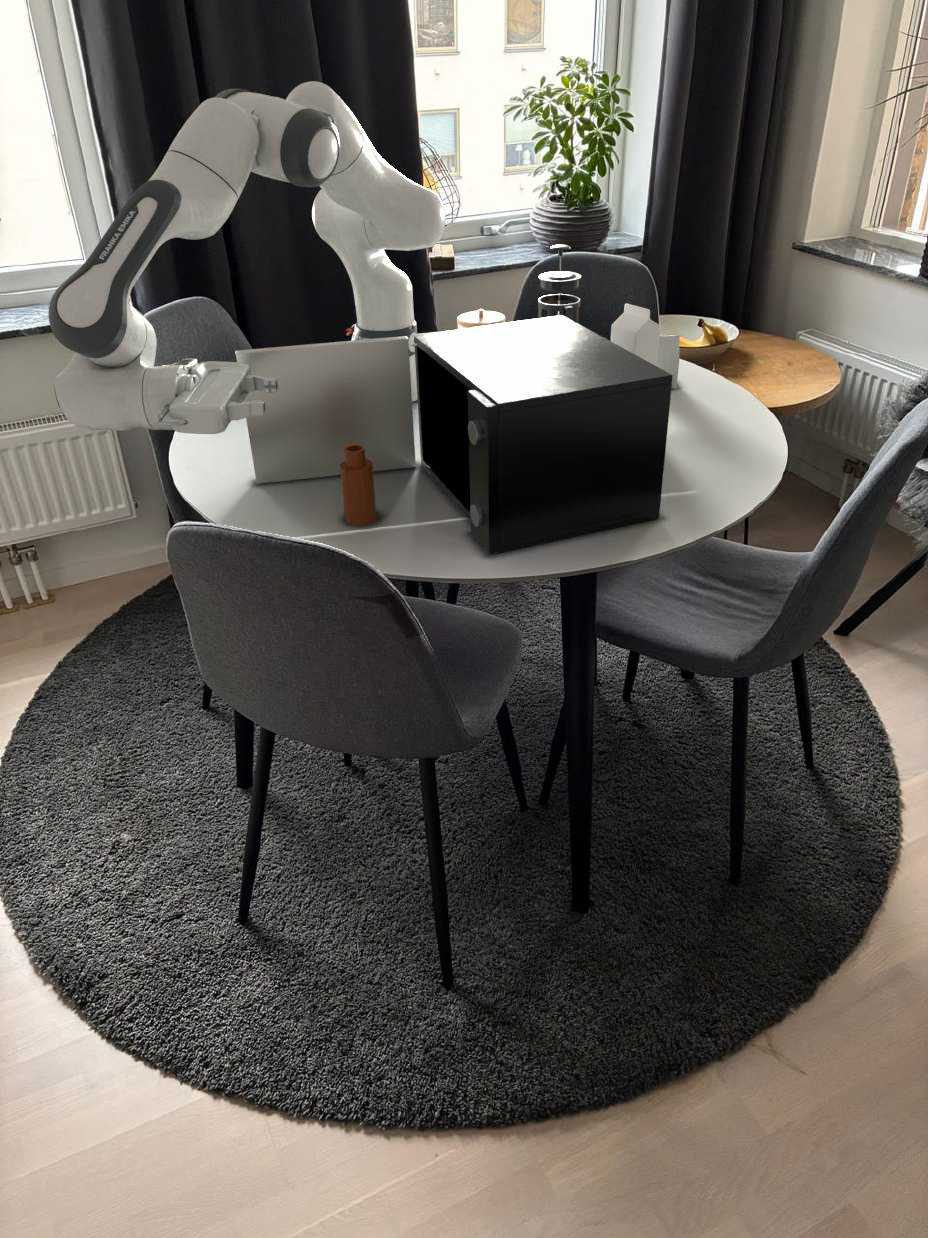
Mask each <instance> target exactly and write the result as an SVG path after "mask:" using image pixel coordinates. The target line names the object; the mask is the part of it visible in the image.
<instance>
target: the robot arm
mask: <svg viewBox="0 0 928 1238" xmlns="http://www.w3.org/2000/svg"><path fill="white" fill-rule="evenodd" d="M251 173H253V174H255V175H258V176H261V177H264V178H269V179H272V180H277V181H280V182H285V183H290V184H292V185H293V186H295V187H300V188H301V187H302V188H316V187H320V190H319V191H318V193H317V194H316V195H315V197H314V200H313V204H312V209H311V218H312V223H313V226H314V229H315V231H316V233H317V234H318V236H319V237H320V238H321V240H323V241H324V242H325V243H326V244H327V245H329V246H330V248H332V250H333V251H334V252H335V253H336V255H337V256H338V257H339V259H340V260H341V262H342V264H343V266H344V267H345V270H346V272H347V274H348V277H349V279H350V282H351V287H352V292H353V298H354V306H355V313H356V323H355V324H353V325H351V327H349V328H347V329H345V331H346V332H347V333H346V334H345V335H346V336H350V335H352V336H351V340H350V341H355V340H367V339H378V338H390V337H402V336H407V338H408V345H409V361H410V378H411V395H412V403H413V402H415V401H416V402H417V401H418V400H417V382H416V365H415V347H414V335H418V328H417V327H418V326H417V321H416V320H415V313H414V295H413V294H414V293H413V284H412V282H411V280H410V278H409V276H408V275H407V274H406V273H405V272H404V271H402V270H401V269H399V268H398V267H396V266H395V264H393V263H392V262H391V260H390V259H389V257H388V255H387V253H386V251H385V250H391V251H405V252H409V251H416V250H424V249H428V248H433V247H434V246H436V245H437V244H438V242H439V241H440V239H441V237H442V236H443V234H444V231H445V227H446V211H445V206H444V204H443V201H442V200H441V197H440V196H439V195H438V194H437V193H436V192H435V191H434V190H432V189H429V188H427V187H424V186H422V185H420V184H418V183H416V182H414V181H413V180H411V179H409V178H407V177H406V176H405V175H403V174H402V173H401V172H399V171H398V170H397V169H395V168H394V167H393V166H392V165H390V164H389V163H388V162H387V161H386V160H385V159H384V158H382V156H381V155H380V154H379V153H378V152H377V150H376V149H375V147H374V146H373V144H372V142H371V140H370V139H369V137H368V136H367V134H366V132H365V130H364V129H363V128H362V126H361V124H360V123H359V121H358V119H357V117H356V116H355V115H354V113H353V111H352V110H351V109H350V107H349V106H348V105H347V104H346V103H345V102H344V100H343V99H342V98H341V96H339V94H337V93H336V91H334V90H333V89H332V88H331V87H330V86H329V85H327V84H325V83H323V82H320V81H315V80H313V81H311V80H310V81H306V82H303V83H300V84H299V85H297V86H295V87H294V88H293V89H292V90H291V91H290V92H289V94H288V95H287V97H286V98H285V99H284V98H282V97H278V96H271V95H267V94H263V93H258V92H252V91H250V90H248V89H244V88H228V89H225V90H222V91H220V92H218V93H217V94H216V95H215V96H214V97H210V98H207V99H206V100H203V101H202V102H201V103H200V104H199V105H198V106H197V108H196V109H194V111H193V112H192V113H191V115H190V116H189V117H188V119H187V120H186V121H185V123H184V124H183V125H182V127H181V128H180V130H179V131H178V133H177V134H176V136H175V137H174V139H173V141H172V143H171V144H170V146H169V148H168V150H167V151H166V153H165V155H164V156H163V159H162V161H161V162H160V163H159V165H158V167H157V169H155V171H154V173H153V174H152V175H151V177H150V178H148V180H147V181H146V182H144V183H143V184H141V185H140V186H139V187H138V188H137V189H136V190H134V192H133V194H131V196H130V197H129V198H128V200H127V201H126V203H124V205H123V206H122V208H121V210H120V211H119V212H118V214H117V215H116V217H115V218H114V220H113V221H112V223H111V224H110V225H109V227H108V228H107V230H106V231H105V233H104V234H103V236H102V238H101V239H100V240H99V242H98V243H97V244H96V246H95V248H94V249H93V250H92V252H91V253H90V255H89V256H88V258H87V259H86V261H85V262H83V264H82V265H81V266H80V267H79V268H77V270H76V271H75V272H74V273H72V274H71V275H69V276H68V277H67V278H66V279H65V280H64V281H62V283H60V285H58V287H57V288H56V289H55V291H54V293H53V294H52V296H51V299H50V302H49V305H48V322H49V323H48V324H49V326H50V329H51V331H52V334H53V335H54V337H55V338H56V340H57V341H58V342H59V343H60V344H61V345H62V346H63V347H65V348H66V349H68V350H70V351H71V352H73V353H74V354H73V356H72V358H71V360H70V361H69V362H68V364H67V366H66V367H65V368H64V369H63V370H62V371H61V372H60V373H59V374H57V375H56V377H55V380H54V395H55V399H56V402H57V405H58V408H59V409H60V411H61V413H62V414H63V416H64V417H65V418H66V420H68V421H69V422H70V423H71V424H73V425H74V426H76V427H78V428H81V429H85V430H92V431H93V430H94V431H108V432H109V431H111V432H113V431H114V432H116V431H119V432H120V431H125V432H126V431H131V430H133V429H138V428H142V429H148V430H152V431H162V430H163V431H166V430H167V431H172V430H173V431H174V432H177V433H181V434H193V435H216V434H217V435H218V434H221V433H224V432H226V430H227V428H228V427H229V424H230V423H231V422H232V421H239V420H243V419H246V418H247V417H251V416H262V415H263V414H264V412H265V410H266V408H265V402H264V401H263V400H251V402H245V403H244V402H243V401H244V400H245V398H246V396H247V395H248V393H249V392H255V390H258V391H265V393H275V392H276V391H277V389H278V381H277V379H276V378H265V377H261V376H258V375H252V373H251V368H250V366H249V365H247V364H244V363H240V362H237V361H218V360H217V361H216V360H214V361H213V360H212V361H211V360H210V361H202V362H198V359H197V358H193V357H192V358H183V359H181V360H178V361H177V362H174V363H172V364H164V365H156V359H157V352H158V339H157V333H156V331H155V329H154V327H153V325H152V323H150V322H149V320H148V319H147V318H146V317H145V316H144V315H143V314H142V313H141V311H139V310H138V309H137V308H135V307H134V306H133V305H132V304H131V303H130V301H131V300H130V297H131V293H132V289H133V287H134V286H135V285H136V283H137V281H138V280H139V279H140V277H141V275H142V274H143V272H144V271H145V269H146V268H147V266H148V265H149V263H150V261H151V260H152V258H153V257H154V255H156V252H157V251H158V249H159V248H160V247H161V246H162V245H163V244H165V243H166V242H167V241H169V240H171V239H175V238H180V239H185V240H191V241H192V240H193V241H194V240H195V241H196V240H203V239H204V240H205V239H207V238H210V237H213V236H215V234H217V232H218V231H219V230H220V229H221V228H222V227H223V225H224V224H225V223H226V221H227V220H228V219H229V217H230V215H231V214H232V212H233V211H234V208H235V206H236V205H237V203H238V200H239V199H240V197H241V194H242V193H243V191H244V188H245V187H246V184H247V182H248V179H249V177H250V174H251Z"/></svg>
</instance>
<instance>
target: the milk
mask: <svg viewBox="0 0 928 1238" xmlns="http://www.w3.org/2000/svg"><path fill="white" fill-rule="evenodd" d="M623 307H624V308H623V312H622V313H621V314H620V315H619V316H618V317H617V319H616V320H615V321H613V323H612V324H611V325H610V326H611V327H610V341H611V342H613V343H615V344H616V345H618V346H620V347H622V348H624V349H626V350H627V351H629V352H631V353H633V354H635V355H637V356H639V357H640V358H642V359H644V360H646V361H648V362H650V363H651V364H653V365H655V366H657V363H658V351H659V340H660V336H661V327H662V326H661V325H660V324H659V323H657V322H656V321H654V320H652V319H651V310H650V309H649V308H645V307H642V306H638V305H634V304H630V303H626V302H625V303H624V305H623Z"/></svg>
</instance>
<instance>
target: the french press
mask: <svg viewBox="0 0 928 1238" xmlns="http://www.w3.org/2000/svg"><path fill="white" fill-rule="evenodd" d="M550 249H551V250H553V251H557V255H558V257H559V261H558V262H559V265H558V271H557V270H556V271H547V272H544V273H540V274H539V275H538V279H539V281H540V288H541V289H543V290H544V291H545V290H546V291H549V292H550V291H551V292H558V293H557V294H547V295H543V296H541V297H539V298H538V300H537V301H538V302H537V303H538V304H537V307H538V312H537V313H538V314H537V316H538V318H543V311H547V317H551V316H556V312H557V316H558V315H563V316H565V317H567V318H569V319H570V320H572V321H574V322H576V323H578V324H580V307H581V298H579V297H578V296H576V295H572V294H563V293H561V292H568V291H573V290H576V289H578V288H579V285H580V283H579V281H580V280H581V278H582V275H581V274H579V273H577V272H574V271H564V270H563V271H562V257H563V255H564V251H567V250H570V249H571V246H570V245H567V244H555V245H552V246H550ZM561 301H563V302H571V303H568V304H561ZM556 302H557V304H556ZM560 312H562V313H560Z"/></svg>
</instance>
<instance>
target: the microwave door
mask: <svg viewBox="0 0 928 1238" xmlns="http://www.w3.org/2000/svg"><path fill="white" fill-rule="evenodd" d="M235 357H236V362H240V363H244V364H247V365H249V366H250V368H251V373H252V375H258V376H261V377H265V378H276V379H277V381H278V389H277V391H276V392H275V393H265V391H258V390H255V392H249V393H248V395H247V396H246V398H245V400H244V401H243V403H245V402H251V400H263V401H264V402H265V408H266V410H265V412H264V414H263V415H262V416H251V417H247V418H245V419H246V420H245V421H246V426H247V430H248V431H247V432H248V439H249V445H250V451H251V456H252V463H253V470H254V476H255V482H256V484H257V485H260V484H269V483H278V482H286V481H287V482H289V481H297V480H308V479H314V478H315V479H317V478H324V477H325V478H326V477H334V476H341V473H340V464H341V463H342V462H343V461H345V452H344V449H345V447H347V446H349V445H362V446H364V448H365V459H368V460H370V461H371V462H372V468H373V472H379V471H390V470H400V469H408V468H409V469H410V468H416V467H417V463H416V446H415V429H414V413H413V412H414V411H413V402H412V395H411V378H410V361H409V345H408V338H407V336H402V337H390V338H378V339H367V340H355V341H351V340H347V341H346V340H345V341H335V342H320V343H309V344H298V345H297V344H296V345H286V346H275V347H273V346H272V347H264V348H263V347H262V348H251V349H242V350H241V349H240V350H235Z"/></svg>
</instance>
